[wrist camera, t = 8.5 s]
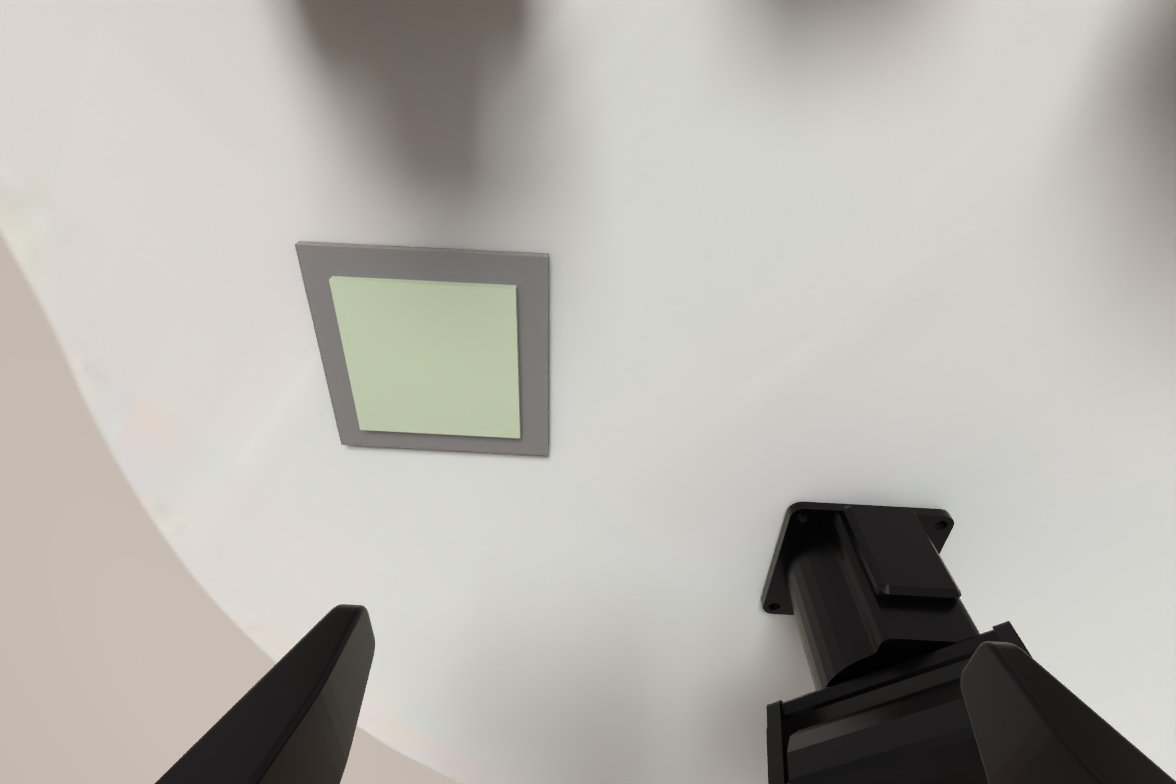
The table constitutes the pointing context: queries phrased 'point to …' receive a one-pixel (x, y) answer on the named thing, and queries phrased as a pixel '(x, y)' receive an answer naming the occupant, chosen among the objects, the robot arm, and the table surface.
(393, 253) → the tile
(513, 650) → the table surface
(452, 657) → the table surface
